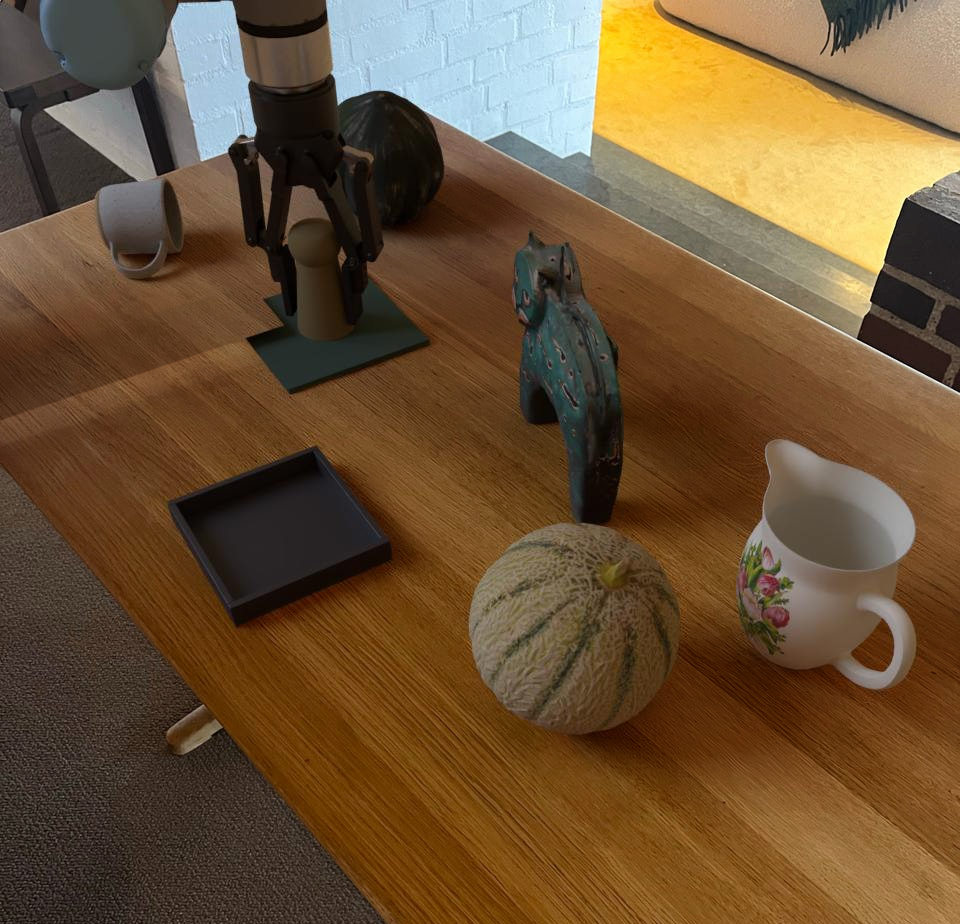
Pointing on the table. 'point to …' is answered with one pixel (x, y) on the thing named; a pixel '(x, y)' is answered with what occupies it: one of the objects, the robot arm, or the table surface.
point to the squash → (393, 153)
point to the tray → (278, 534)
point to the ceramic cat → (570, 373)
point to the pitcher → (825, 567)
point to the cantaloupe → (575, 628)
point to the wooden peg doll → (318, 280)
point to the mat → (336, 342)
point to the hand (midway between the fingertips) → (324, 312)
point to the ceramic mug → (140, 222)
